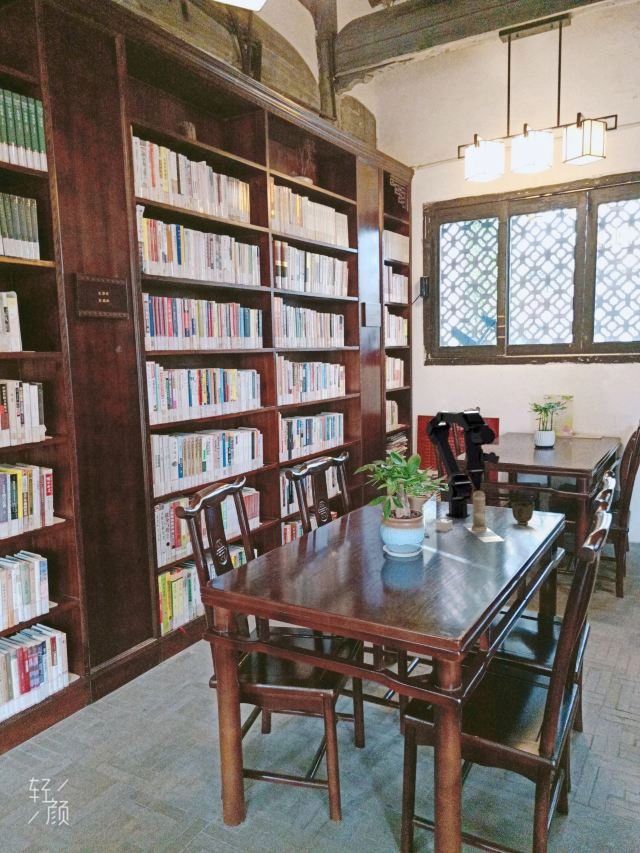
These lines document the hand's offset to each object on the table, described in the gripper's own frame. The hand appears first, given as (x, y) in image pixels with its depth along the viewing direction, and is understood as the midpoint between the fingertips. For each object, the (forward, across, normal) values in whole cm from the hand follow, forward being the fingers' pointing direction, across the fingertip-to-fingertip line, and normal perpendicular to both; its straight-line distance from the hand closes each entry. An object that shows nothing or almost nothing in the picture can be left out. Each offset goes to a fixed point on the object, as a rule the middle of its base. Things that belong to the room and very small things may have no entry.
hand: (478, 490), depth 214 cm
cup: (+14, +3, -14) cm, 20 cm away
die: (+13, -8, +13) cm, 20 cm away
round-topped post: (+13, -7, +1) cm, 15 cm away
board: (+14, -10, 0) cm, 17 cm away
